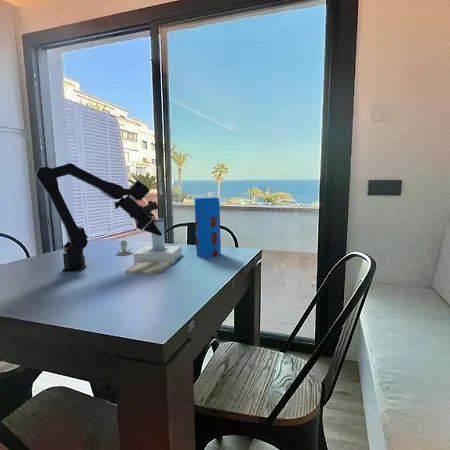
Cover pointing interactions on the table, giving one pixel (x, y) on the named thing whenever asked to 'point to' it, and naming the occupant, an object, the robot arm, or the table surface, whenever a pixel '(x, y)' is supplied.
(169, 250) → the housing
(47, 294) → the table surface
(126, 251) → the pacifier
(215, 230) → the thermos
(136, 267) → the pad
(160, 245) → the cylinder
